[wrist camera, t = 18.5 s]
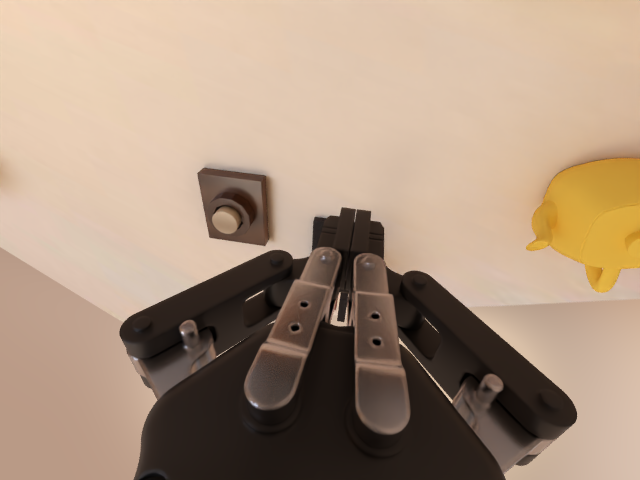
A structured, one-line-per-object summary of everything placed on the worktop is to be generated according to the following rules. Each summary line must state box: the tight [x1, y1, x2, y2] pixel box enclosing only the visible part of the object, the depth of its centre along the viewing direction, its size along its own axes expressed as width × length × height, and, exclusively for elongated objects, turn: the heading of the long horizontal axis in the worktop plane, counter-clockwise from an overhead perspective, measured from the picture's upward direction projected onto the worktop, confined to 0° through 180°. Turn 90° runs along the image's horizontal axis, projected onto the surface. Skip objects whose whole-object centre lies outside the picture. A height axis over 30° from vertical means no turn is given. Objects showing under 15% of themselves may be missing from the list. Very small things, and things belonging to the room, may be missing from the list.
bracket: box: [312, 217, 355, 322], centre depth 49 cm, size 12×9×13 cm
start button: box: [212, 206, 241, 234], centre depth 49 cm, size 4×4×2 cm
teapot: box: [526, 158, 640, 293], centre depth 39 cm, size 22×16×11 cm
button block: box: [197, 168, 269, 246], centre depth 51 cm, size 12×10×4 cm
